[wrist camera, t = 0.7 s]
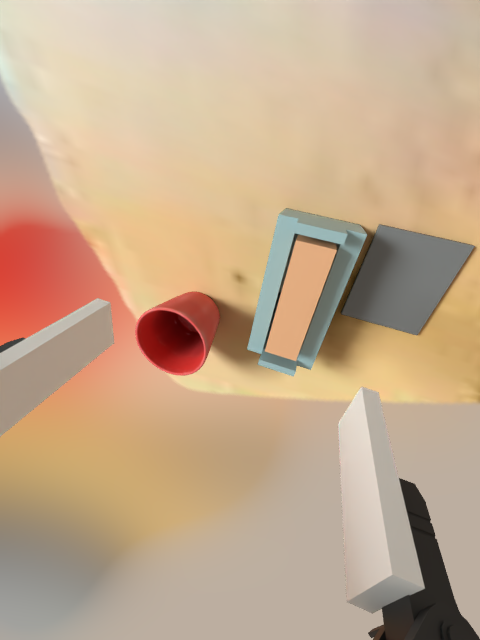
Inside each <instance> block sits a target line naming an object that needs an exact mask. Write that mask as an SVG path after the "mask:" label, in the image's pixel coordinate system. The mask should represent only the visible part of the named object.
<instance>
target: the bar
mask: <svg viewBox="0 0 480 640" xmlns="http://www.w3.org/2000/svg"><path fill="white" fill-rule="evenodd" d="M336 252H337V247H336V243H333V242H329V241H325V240H321V239H317V238H312V237H308V236H304V235H300V234H298V237H297V239H296V242H295V245H294V249H293V252H292V256H291V260H290V263H289V267H288V270H287V274H286V277H285V281H284V284H283V288H282V292H281V295H280V299H279V302H278V306H277V309H276V313H275V316H274V320H273V324H272V327H271V331H270V334H269V338H268V341H267V345H266V349H265V352H268V353H271V354H275V355H278V356H281V357H284V358H287V359H290V360H294V361H296V360H297V357H298V354H299V351H300V349H301V346H302V343H303V341H304V338H305V335H306V333H307V330H308V327H309V324H310V322H311V319H312V316H313V314H314V311H315V308H316V306H317V303H318V300H319V297H320V295H321V292H322V289H323V287H324V284H325V281H326V279H327V276H328V273H329V270H330V268H331V265H332V262H333V260H334V257H335V254H336Z"/></svg>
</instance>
